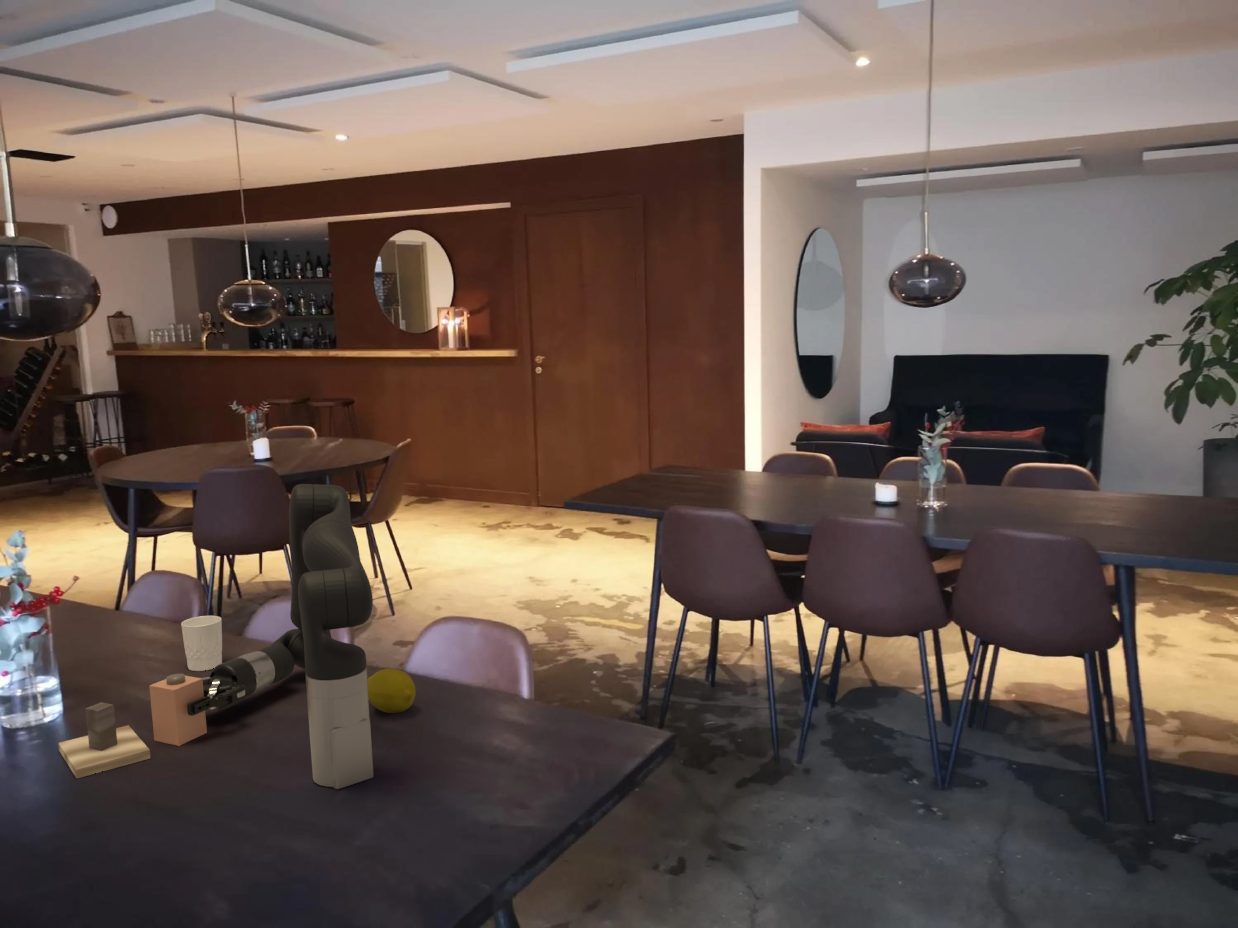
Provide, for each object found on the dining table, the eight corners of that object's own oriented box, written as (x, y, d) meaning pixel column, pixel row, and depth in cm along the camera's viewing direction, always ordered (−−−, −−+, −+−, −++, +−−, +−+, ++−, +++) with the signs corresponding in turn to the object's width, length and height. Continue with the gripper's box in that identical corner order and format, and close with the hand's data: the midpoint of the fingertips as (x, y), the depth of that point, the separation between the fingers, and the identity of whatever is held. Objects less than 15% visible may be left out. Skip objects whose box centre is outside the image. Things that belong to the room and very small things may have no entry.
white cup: (231, 660, 211) (228, 615, 210) (213, 672, 204) (209, 626, 202) (197, 659, 212) (193, 615, 211) (177, 672, 204) (173, 626, 203)
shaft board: (150, 758, 162) (145, 709, 161) (76, 778, 155) (71, 727, 154) (129, 733, 173) (124, 687, 172) (59, 751, 166) (54, 703, 165)
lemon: (426, 711, 179) (424, 670, 178) (390, 724, 174) (388, 681, 173) (392, 697, 187) (390, 657, 186) (357, 710, 181) (354, 668, 180)
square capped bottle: (206, 732, 172) (201, 672, 171) (178, 745, 167) (173, 684, 165) (182, 727, 175) (177, 668, 173) (154, 740, 170) (148, 679, 168)
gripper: (214, 652, 186) (141, 680, 171) (270, 661, 180) (199, 691, 165) (217, 690, 187) (144, 721, 172) (273, 700, 181) (202, 733, 166)
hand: (171, 706), depth 169 cm, fingers open, 8 cm apart
